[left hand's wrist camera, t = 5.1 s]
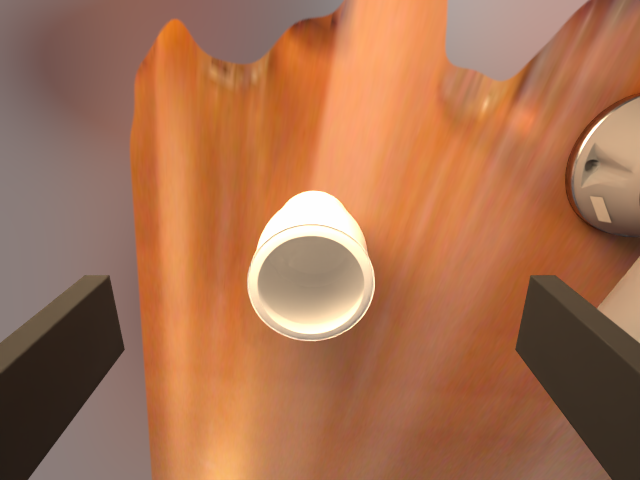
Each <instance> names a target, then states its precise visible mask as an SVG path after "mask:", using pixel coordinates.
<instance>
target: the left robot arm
mask: <svg viewBox="0 0 640 480" xmlns="http://www.w3.org/2000/svg"><path fill="white" fill-rule="evenodd" d="M565 185H566V192H567V196H568V199H569V202H570V204H571V206H572V208H573V209H574V211H575V212H576V213H577V215H578V216H579V217H580V218H581V219H582V220H584V221H585V222H586V223H588V224H590V225H591V226H593V227H595V228H597V229H599V230H601V231H604V232H606V233H609V234H614V235H618V236H624V237H640V93H638V94H634V95H631V96H629V97H626V98H624V99H622V100H620V101H618V102H616V103H614V104H613V105H611V106H609V107H608V108H607V109H605V110H604V111H602V112H601V113H600V114H599V115H598V116H597V117H595V118H594V119H593V120H592V121H591V122H590V124H589V125H588V126H587V127H586V128H585V129H584V131H583V132H582V133H581V135H580V136H579V138H578V140H577V141H576V143H575V145H574V147H573V149H572V151H571V154H570V157H569V160H568V163H567V168H566V175H565ZM515 350H516V351H517V352H518V354H519V355H520V356H521V358H522V359H523V360H524V362H525V363H526V365H527V366H528V367H529V369H530V370H531V371H532V373H533V374H534V375H535V377H536V378H537V379H538V381H539V382H540V383H541V385H542V386H543V387H544V389H545V390H546V391H547V393H548V394H549V395H550V397H551V398H552V399H553V401H554V402H555V403H556V405H557V406H558V408H559V409H560V410H561V412H562V413H563V414H564V416H565V417H566V418H567V420H568V421H569V422H570V424H571V425H572V426H573V428H574V429H575V430H576V432H577V433H578V434H579V436H580V437H581V438H582V440H583V441H584V442H585V444H586V445H587V446H588V448H589V449H590V450H591V452H592V453H593V455H594V456H595V457H596V459H597V460H598V461H599V463H600V464H601V465H602V467H603V468H604V469H605V471H606V472H607V473H608V475H609V476H610V477H611V479H612V480H640V257H639V258H638V259H637V260H636V262H635V263H634V264H633V265H632V267H631V268H630V269H629V270H628V272H627V273H626V274H625V275H624V276H623V278H622V279H621V280H620V281H619V282H618V284H617V285H616V286H615V287H614V288H613V290H612V291H611V292H610V293H609V294H608V296H607V297H606V298H605V299H604V300H603V302H602V303H601V304H600V305H599V306H598V308H595V307H594V306H593V305H592V304H590V303H589V302H588V301H587V300H585V299H584V298H583V297H582V296H580V295H579V294H578V293H577V292H575V291H574V290H573V289H572V288H570V287H569V286H568V285H567V284H565V283H564V282H563V281H562V280H560V279H559V278H558V277H557V276H555V275H531V276H530V281H529V286H528V291H527V296H526V300H525V305H524V310H523V315H522V320H521V325H520V330H519V334H518V339H517V344H516V349H515ZM123 351H124V344H123V339H122V334H121V330H120V325H119V320H118V315H117V310H116V305H115V300H114V296H113V291H112V286H111V281H110V276H109V275H85V276H83V277H82V278H81V279H80V280H78V281H77V282H76V283H75V284H73V285H72V286H71V287H70V288H68V289H67V290H66V291H65V292H63V293H62V294H61V295H60V296H58V297H57V298H56V299H55V300H53V301H52V302H51V303H50V304H48V305H47V306H46V307H45V308H44V309H42V310H41V311H40V312H38V313H37V314H36V315H35V316H33V317H32V318H31V319H30V320H28V321H27V322H26V323H25V324H23V325H22V326H21V327H20V328H18V329H17V330H16V331H15V332H13V333H12V334H11V335H10V336H9V337H7V338H6V339H5V340H3V341H2V342H1V343H0V480H28V479H29V477H30V476H31V475H32V473H33V472H34V471H35V469H36V468H37V467H38V465H39V464H40V462H41V461H42V460H43V459H44V457H45V456H46V455H47V453H48V452H49V450H50V449H51V448H52V446H53V445H54V444H55V442H56V441H57V440H58V438H59V437H60V436H61V434H62V433H63V432H64V430H65V429H66V428H67V426H68V425H69V424H70V422H71V421H72V420H73V418H74V417H75V416H76V414H77V413H78V412H79V410H80V409H81V407H82V406H83V405H84V403H85V402H86V401H87V399H88V398H89V397H90V395H91V394H92V393H93V391H94V390H95V389H96V387H97V386H98V385H99V383H100V382H101V381H102V379H103V378H104V377H105V375H106V374H107V373H108V371H109V370H110V368H111V367H112V366H113V365H114V363H115V362H116V360H117V359H118V358H119V356H120V355H121V354H122V352H123Z"/></svg>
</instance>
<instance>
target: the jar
mask: <svg viewBox="0 0 640 480" xmlns="http://www.w3.org/2000/svg"><path fill="white" fill-rule="evenodd" d="M247 288H248V294H249V298H250V301H251V304H252V306H253V308H254V310H255V311H256V313H257V314H258V316H259V317H260V318H261V319H262V320H263V322H264V323H266V324H267V325H268V326H269V327H270V328H272V329H273V330H275V331H276V332H278V333H280V334H282V335H284V336H287V337H289V338H293V339H297V340H303V341H318V340H325V339H329V338H332V337H335V336H338V335H340V334H342V333H344V332H346V331H347V330H349V329H350V328H352V327H353V326H354V325H355V324H356V323H357V322H358V321H359V320H360V319H361V318H362V317H363V316H364V314H365V313H366V311H367V309H368V308H369V306H370V303H371V301H372V298H373V294H374V288H375V276H374V270H373V267H372V263H371V261H370V258H369V256H368V250H367V245H366V241H365V238H364V235H363V233H362V231H361V229H360V227H359V225H358V224H357V222H356V221H355V220H354V218H353V217H352V216H351V215H350V214H349V213H348V212H347V211H346V209H345V208H344V206H343V205H342V204H341V202H340V201H338V200H337V199H336V198H335V197H333V196H331V195H329V194H327V193H324V192H319V191H308V192H303V193H300V194H298V195H296V196H294V197H293V198H291V199H290V200H289V201H288V202H287V203H286V204H285V205H284V207H283V208H282V209H281V210H280V211H278V212H277V213H276V214H275V215H274V216H273V217H272V219H271V220H270V221H269V222H268V224H267V225H266V227H265V229H264V231H263V232H262V235H261V237H260V240H259V243H258V246H257V251H256V253H255V255H254V256H253V259H252V261H251V264H250V267H249V271H248V277H247Z"/></svg>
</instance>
